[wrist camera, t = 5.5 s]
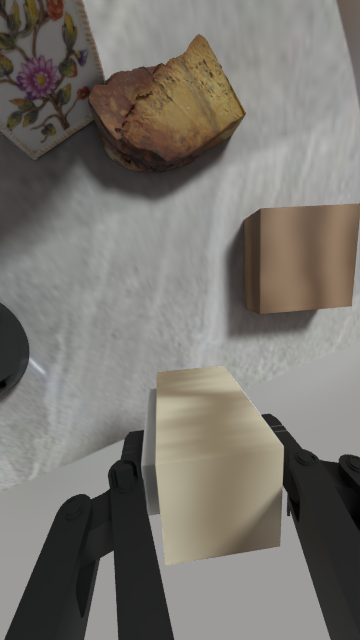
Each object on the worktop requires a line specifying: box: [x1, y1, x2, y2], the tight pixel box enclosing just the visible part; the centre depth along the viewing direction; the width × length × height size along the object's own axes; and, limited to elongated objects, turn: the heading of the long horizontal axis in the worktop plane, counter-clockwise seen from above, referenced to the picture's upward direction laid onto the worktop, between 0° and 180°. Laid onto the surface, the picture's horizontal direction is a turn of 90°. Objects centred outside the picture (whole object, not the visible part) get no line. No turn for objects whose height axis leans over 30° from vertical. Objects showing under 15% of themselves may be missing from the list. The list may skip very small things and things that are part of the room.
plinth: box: [244, 204, 360, 314], centre depth 28 cm, size 12×12×5 cm
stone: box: [88, 34, 246, 172], centre depth 24 cm, size 15×9×5 cm, turn 116°
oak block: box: [155, 366, 284, 566], centre depth 13 cm, size 5×5×8 cm
